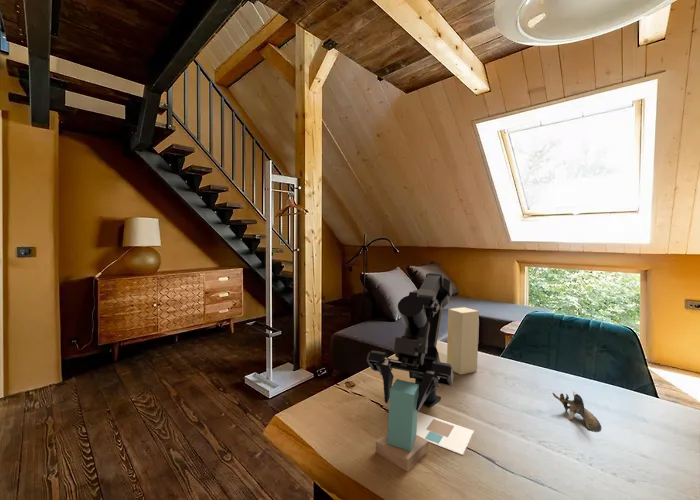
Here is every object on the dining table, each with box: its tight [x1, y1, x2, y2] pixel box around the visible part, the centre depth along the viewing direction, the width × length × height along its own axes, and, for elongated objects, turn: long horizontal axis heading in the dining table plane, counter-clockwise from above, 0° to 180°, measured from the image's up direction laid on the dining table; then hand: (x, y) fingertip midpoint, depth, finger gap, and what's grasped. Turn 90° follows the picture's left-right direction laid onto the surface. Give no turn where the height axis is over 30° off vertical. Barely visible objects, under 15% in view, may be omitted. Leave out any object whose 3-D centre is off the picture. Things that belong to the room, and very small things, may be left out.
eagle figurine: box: [552, 391, 602, 433], centre depth 81 cm, size 8×8×10 cm
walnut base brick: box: [375, 432, 429, 473], centre depth 69 cm, size 8×8×3 cm
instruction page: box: [416, 411, 475, 456], centre depth 76 cm, size 10×14×1 cm
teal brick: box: [387, 378, 419, 452], centre depth 68 cm, size 5×5×12 cm
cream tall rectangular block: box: [446, 306, 480, 376], centre depth 111 cm, size 8×7×21 cm
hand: (401, 406), depth 67 cm, fingers open, 6 cm apart
